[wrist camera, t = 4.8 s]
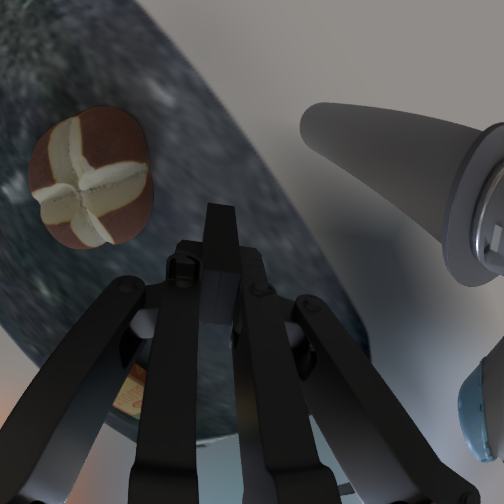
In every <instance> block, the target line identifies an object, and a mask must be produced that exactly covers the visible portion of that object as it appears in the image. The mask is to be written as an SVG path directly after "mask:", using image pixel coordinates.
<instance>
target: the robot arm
mask: <svg viewBox="0 0 504 504" xmlns="http://www.w3.org/2000/svg"><path fill="white" fill-rule="evenodd" d="M470 248H471V252H472V254H473V256H474V258H475V259H476V260H477V261H478V262H479V263H480V264H481V265H482V266H483V267H484V268H485V269H487V270H490V271H492V272H495V273H497V274H500V275H503V276H504V158H503V159H501V160H500V161H499V162H498V163H497V164H496V165H495V166H494V167H493V168H492V170H491V171H490V173H489V174H488V176H487V177H486V179H485V181H484V183H483V185H482V187H481V190H480V192H479V194H478V197H477V200H476V203H475V206H474V210H473V214H472V219H471V225H470ZM262 261H263V260H262V256H261V254H260V253H259V252H258V250H257V249H256V248H250V247H242V246H239V240H238V232H237V224H236V216H235V208H234V206H228V205H221V204H214V203H208V206H207V212H206V219H205V226H204V233H203V241H202V242H197V241H189V240H182V241H180V242H179V243H178V244H177V246H176V250H175V254H173V255H171V256H169V257H168V259H167V265H166V280H165V281H163V282H162V283H159V284H155V285H146V286H145V283H144V282H143V281H142V280H141V279H140V278H138V277H136V276H130V275H126V276H120V277H117V278H116V279H114V280H113V281H112V282H111V283H110V284H109V285H108V286H107V287H106V289H105V290H104V291H103V292H102V293H101V294H100V295H99V296H98V298H97V299H96V300H95V301H94V302H93V303H92V305H91V306H90V307H89V308H88V309H87V310H86V312H85V313H84V314H83V315H82V316H81V318H80V319H79V320H78V321H77V323H76V324H75V325H74V326H73V327H72V329H71V330H70V331H69V332H68V334H67V335H66V336H65V337H64V339H63V340H62V341H61V343H60V344H59V345H58V346H57V348H56V349H55V350H54V352H53V353H52V354H51V356H50V357H49V358H48V360H47V361H46V362H45V364H44V365H43V366H42V368H41V369H40V370H39V372H38V373H37V375H36V376H35V377H34V379H33V380H32V382H31V383H30V384H29V386H28V387H27V389H26V390H25V392H24V393H23V395H22V396H21V398H20V399H19V401H18V402H17V404H16V405H15V407H14V408H13V410H12V412H11V413H10V415H9V416H8V418H7V420H6V421H5V423H4V425H3V426H2V428H1V429H0V504H65V503H66V501H67V499H68V497H69V495H70V493H71V491H72V489H73V487H74V484H75V482H76V480H77V478H78V475H79V473H80V471H81V468H82V466H83V464H84V462H85V460H86V458H87V456H88V454H89V451H90V449H91V447H92V445H93V443H94V441H95V438H96V437H97V435H98V433H99V431H100V429H101V427H102V425H103V423H104V421H105V419H106V417H107V415H108V413H109V411H110V409H111V407H112V405H113V403H114V401H115V399H116V397H117V395H118V393H119V392H120V390H121V388H122V386H123V384H124V382H125V380H126V378H127V376H128V375H129V373H130V371H131V369H132V367H133V365H134V363H135V362H136V360H137V358H138V356H139V354H140V353H141V351H142V349H143V347H144V345H145V344H146V342H147V338H152V337H153V340H152V345H151V350H150V356H149V361H148V367H147V373H146V379H145V385H144V392H143V398H142V405H141V413H140V420H139V429H138V437H137V447H136V457H135V462H134V464H133V466H132V468H131V472H130V477H129V488H128V504H199V491H198V475H197V467H196V382H197V350H198V328H199V323H202V324H212V325H223V326H231V323H232V319H233V329H232V334H231V338H230V342H229V348H231V346H232V356H233V370H234V384H235V397H236V409H237V421H238V433H239V444H240V454H241V464H242V473H243V474H242V475H243V484H244V492H243V499H242V504H342V502H341V498H340V494H339V490H338V486H337V482H336V479H335V476H334V474H333V472H332V470H331V469H330V468H329V467H327V466H325V465H323V464H322V463H321V462H320V460H319V457H318V453H317V449H316V445H315V440H314V436H313V432H312V428H311V424H310V420H309V416H308V412H307V408H306V405H307V406H308V408H309V410H310V412H311V414H312V416H313V417H314V419H315V421H316V423H317V425H318V427H319V428H320V430H321V432H322V434H323V436H324V437H325V439H326V441H327V443H328V445H329V446H330V448H331V450H332V452H333V454H334V455H335V457H336V459H337V461H338V462H339V464H340V466H341V468H342V470H343V471H344V473H345V475H346V477H347V478H348V480H349V482H350V484H351V485H352V487H353V489H354V490H355V492H356V494H357V496H358V497H359V499H360V500H361V502H362V503H363V504H480V503H481V502H480V494H479V491H478V489H477V488H476V487H475V486H474V485H472V484H471V483H469V482H468V481H467V480H465V479H464V478H463V477H461V476H460V475H458V474H457V473H456V472H454V471H453V470H452V469H450V468H449V467H448V466H446V465H445V464H444V463H442V462H441V461H440V459H439V458H438V457H437V455H436V453H435V452H434V451H433V449H432V448H431V446H430V445H429V443H428V442H427V440H426V439H425V438H424V436H423V435H422V433H421V432H420V431H419V429H418V428H417V426H416V425H415V423H414V422H413V420H412V419H411V418H410V416H409V415H408V413H407V412H406V410H405V409H404V408H403V406H402V405H401V403H400V402H399V401H398V399H397V398H396V396H395V395H394V394H393V392H392V391H391V390H390V388H389V387H388V385H387V384H386V383H385V381H384V380H383V379H382V377H381V376H380V374H379V373H378V372H377V370H376V369H375V368H374V366H373V365H372V364H371V362H370V361H369V360H368V358H367V357H366V356H365V354H364V353H363V351H362V350H361V349H360V347H359V346H358V345H357V343H356V342H355V341H354V339H353V338H352V337H351V336H350V334H349V333H348V332H347V330H346V329H345V328H344V326H343V325H342V324H341V322H340V321H339V320H338V318H337V317H336V316H335V314H334V313H333V312H332V311H331V309H330V308H329V307H328V305H327V304H326V303H325V302H324V301H323V300H322V299H320V298H318V297H317V296H313V295H309V294H303V295H300V296H298V297H297V298H296V301H292V300H288V299H285V298H282V297H280V296H278V295H277V293H276V290H275V288H274V287H273V286H272V285H271V284H270V283H268V280H267V276H266V272H265V268H264V264H263V262H262ZM312 346H313V347H312ZM305 403H306V404H305ZM458 411H459V420H460V425H461V429H462V432H463V435H464V438H465V441H466V443H467V445H468V447H469V449H470V451H471V452H472V454H473V455H474V456H475V458H476V459H478V460H481V462H483V463H488V462H490V461H494V460H496V459H497V457H500V458H501V459H502V461H503V463H504V336H503V338H502V339H501V340H500V342H498V344H497V345H496V346H495V347H494V348H493V350H492V351H491V352H490V353H489V354H488V355H487V356H486V357H484V358H483V359H482V360H481V361H480V364H479V365H478V366H477V368H476V369H475V370H474V371H473V372H472V373H471V374H470V375H469V376H468V378H467V379H466V380H465V381H464V382H463V384H462V386H461V388H460V391H459V396H458Z"/></svg>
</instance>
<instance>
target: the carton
mask: <svg viewBox="0 0 504 504" xmlns="http://www.w3.org/2000/svg"><path fill="white" fill-rule="evenodd" d="M146 373H147V371H146V370H144V369H143V368H142V367H140V366H139V365H137V364H136V363H134V365H133V367H132V369H131V371H130V373H129V375H128V376H127V378H126V380H125V382H124V384H123V386H122V388H121V390H120V392H119V393H118V395H117V397H116V399H115V401H114V403H113V405H112V406H114V407H116V408H118V409H120V410H121V411H123V412H125V413H127V414H129V415H131V416H133V417H135V418H137V419H139V420H140V413H141V405H142V398H143V392H144V385H145V379H146ZM196 404H197V403H196ZM196 413H197V405H196Z"/></svg>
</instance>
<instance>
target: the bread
mask: <svg viewBox="0 0 504 504" xmlns="http://www.w3.org/2000/svg"><path fill="white" fill-rule="evenodd" d="M28 181H29V188H30V191H31V195H32V196H33V197H34V198H35V199H36V200H38V201H39V203H40V204H41V218H42V221H43V223H44V225H45V226H46V228H47V229H48V230H49V232H50V233H51V234H52V235H53V237H54V238H55V239H56V240H58V241H59V242H60V243H62V244H63V245H65V246H67V247H70V248H73V249H80V250H82V249H91V248H96V247H99V246H101V245H102V244H104V243H105V242H110V243H112V244H114V245H117V244H121V243H124V242H126V241H128V240H130V239H132V238H134V237H135V236H137V235H138V234H139V233H140V232H141V231H142V229H143V228H144V227H145V225H146V224H147V222H148V219H149V217H150V214H151V211H152V206H153V184H152V179H151V174H150V170H149V156H148V148H147V143H146V139H145V137H144V135H143V132H142V130H141V128H140V127H139V125H138V124H137V122H136V121H135V120H134V119H133V118H132V117H131V116H130V115H128V114H127V113H126V112H124V111H122V110H119V109H117V108H114V107H108V106H98V107H93V108H90V109H87V110H85V111H83V112H81V113H80V114H78V115H77V116H76V117H71V118H68V119H65V120H63V121H61V122H59V123H57V124H56V125H54V126H53V127H52V128H50V129H49V130H48V131H47V132H46V133H44V134H43V136H42V137H41V138H40V139H39V141H38V142H37V144H36V146H35V148H34V151H33V153H32V156H31V159H30V163H29V171H28Z"/></svg>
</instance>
